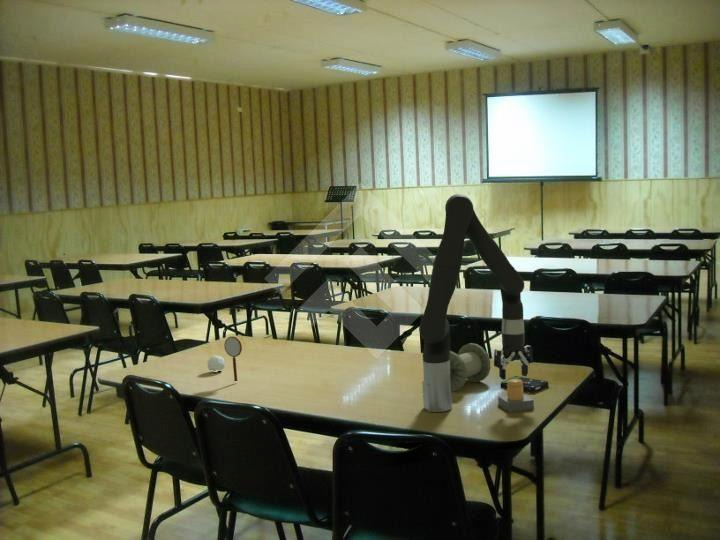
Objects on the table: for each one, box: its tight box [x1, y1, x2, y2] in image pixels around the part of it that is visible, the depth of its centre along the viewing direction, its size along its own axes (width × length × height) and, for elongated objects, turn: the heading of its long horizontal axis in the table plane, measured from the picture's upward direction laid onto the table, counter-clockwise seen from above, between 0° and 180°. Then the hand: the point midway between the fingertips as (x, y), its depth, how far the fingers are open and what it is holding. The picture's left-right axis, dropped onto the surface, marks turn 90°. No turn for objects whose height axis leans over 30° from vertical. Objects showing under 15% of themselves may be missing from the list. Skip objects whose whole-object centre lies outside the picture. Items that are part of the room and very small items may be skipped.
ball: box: [207, 355, 226, 371], centre depth 333 cm, size 8×8×8 cm
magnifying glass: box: [224, 336, 243, 382], centre depth 311 cm, size 9×2×20 cm, turn 62°
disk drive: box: [499, 375, 549, 394], centre depth 280 cm, size 10×3×15 cm
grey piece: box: [497, 393, 535, 413], centre depth 257 cm, size 9×9×7 cm
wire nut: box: [506, 379, 524, 400], centre depth 257 cm, size 5×5×6 cm
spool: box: [449, 342, 491, 392], centre depth 287 cm, size 16×15×15 cm
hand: (513, 377), depth 256 cm, fingers open, 8 cm apart
